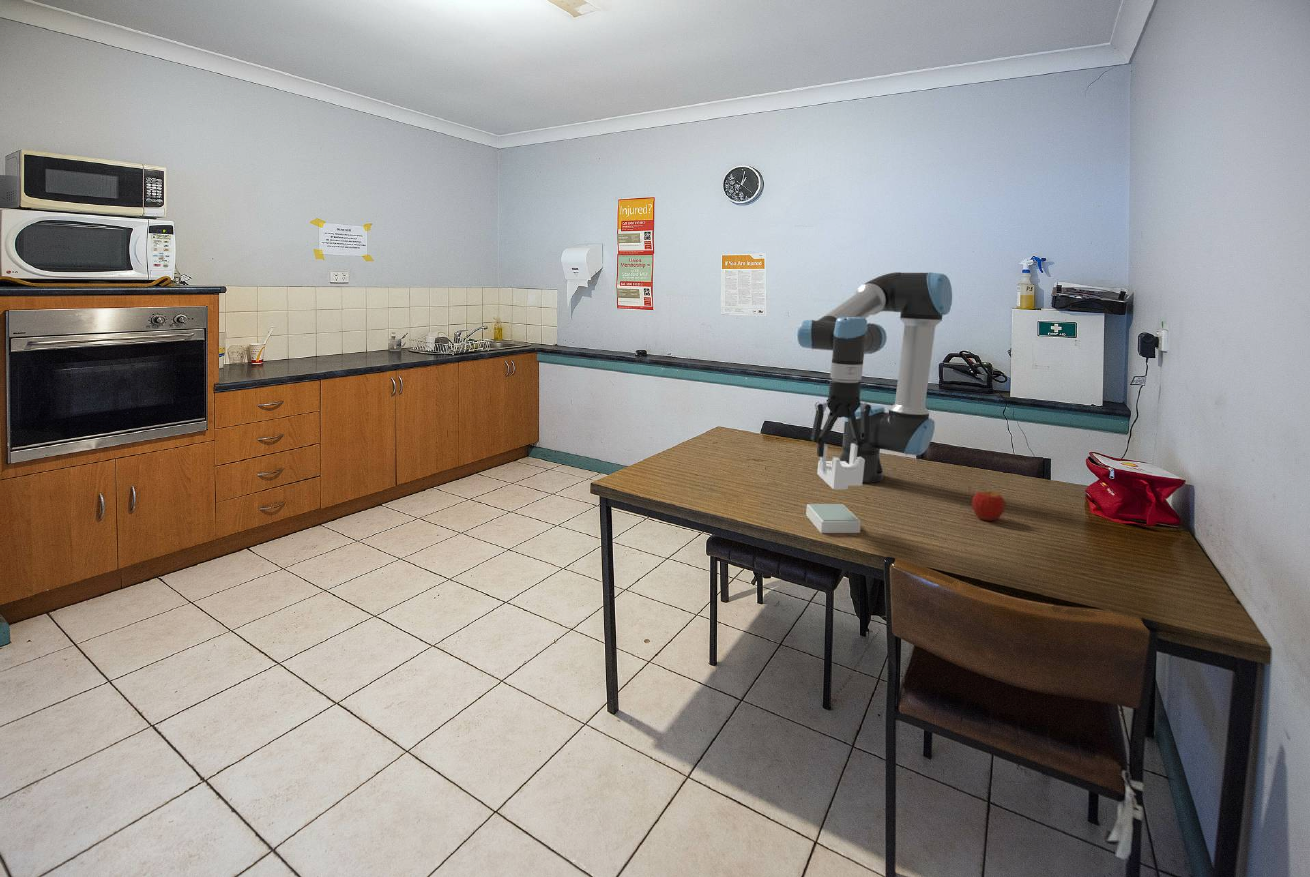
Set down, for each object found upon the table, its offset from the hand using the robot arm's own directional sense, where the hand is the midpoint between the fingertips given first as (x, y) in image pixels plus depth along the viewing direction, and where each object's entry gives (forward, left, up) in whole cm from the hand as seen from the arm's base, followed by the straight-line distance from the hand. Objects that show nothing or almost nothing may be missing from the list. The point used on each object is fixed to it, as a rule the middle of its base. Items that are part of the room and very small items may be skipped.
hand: (837, 468), depth 168 cm
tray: (0, 0, -15) cm, 15 cm away
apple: (-44, -4, -15) cm, 47 cm away
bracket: (0, +2, -3) cm, 4 cm away
